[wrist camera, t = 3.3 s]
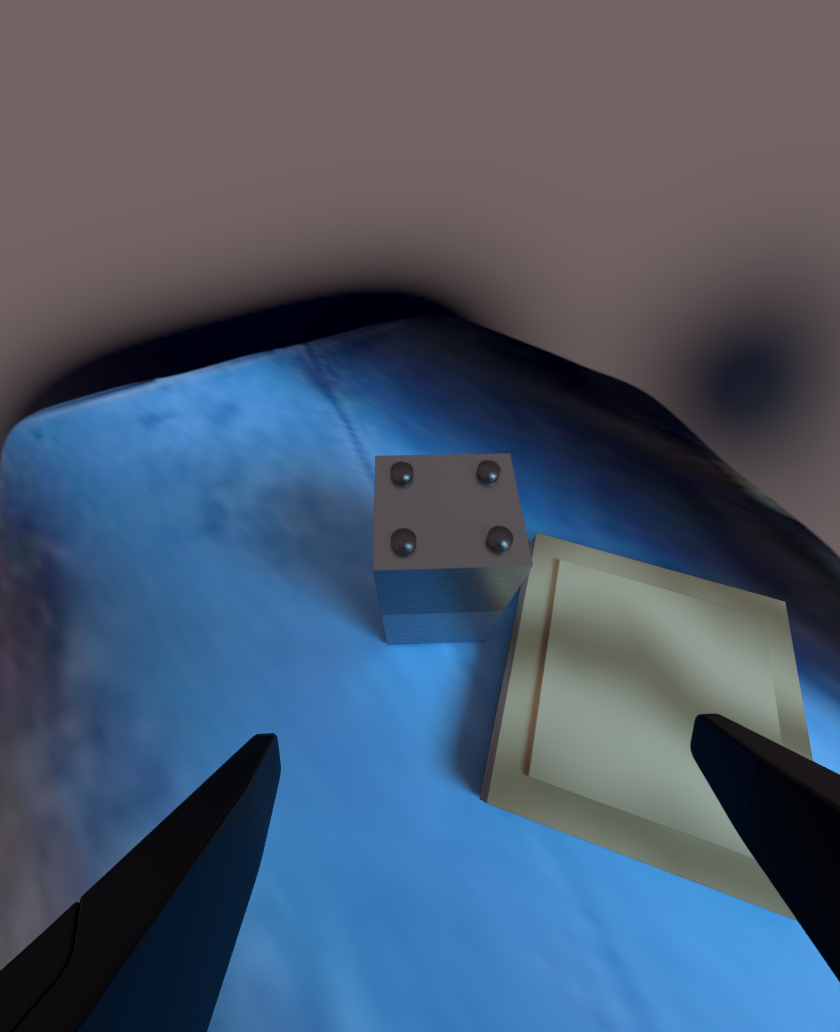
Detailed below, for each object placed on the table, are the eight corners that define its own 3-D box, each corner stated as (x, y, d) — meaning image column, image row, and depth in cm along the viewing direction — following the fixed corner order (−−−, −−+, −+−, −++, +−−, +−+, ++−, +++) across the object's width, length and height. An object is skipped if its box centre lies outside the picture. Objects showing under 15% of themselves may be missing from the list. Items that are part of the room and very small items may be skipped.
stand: (799, 919, 17) (851, 941, 15) (479, 799, 19) (488, 804, 17) (758, 613, 24) (789, 600, 22) (528, 547, 26) (538, 530, 24)
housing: (483, 641, 23) (535, 562, 13) (387, 644, 22) (372, 566, 13) (473, 561, 25) (511, 448, 16) (387, 563, 25) (374, 451, 16)
